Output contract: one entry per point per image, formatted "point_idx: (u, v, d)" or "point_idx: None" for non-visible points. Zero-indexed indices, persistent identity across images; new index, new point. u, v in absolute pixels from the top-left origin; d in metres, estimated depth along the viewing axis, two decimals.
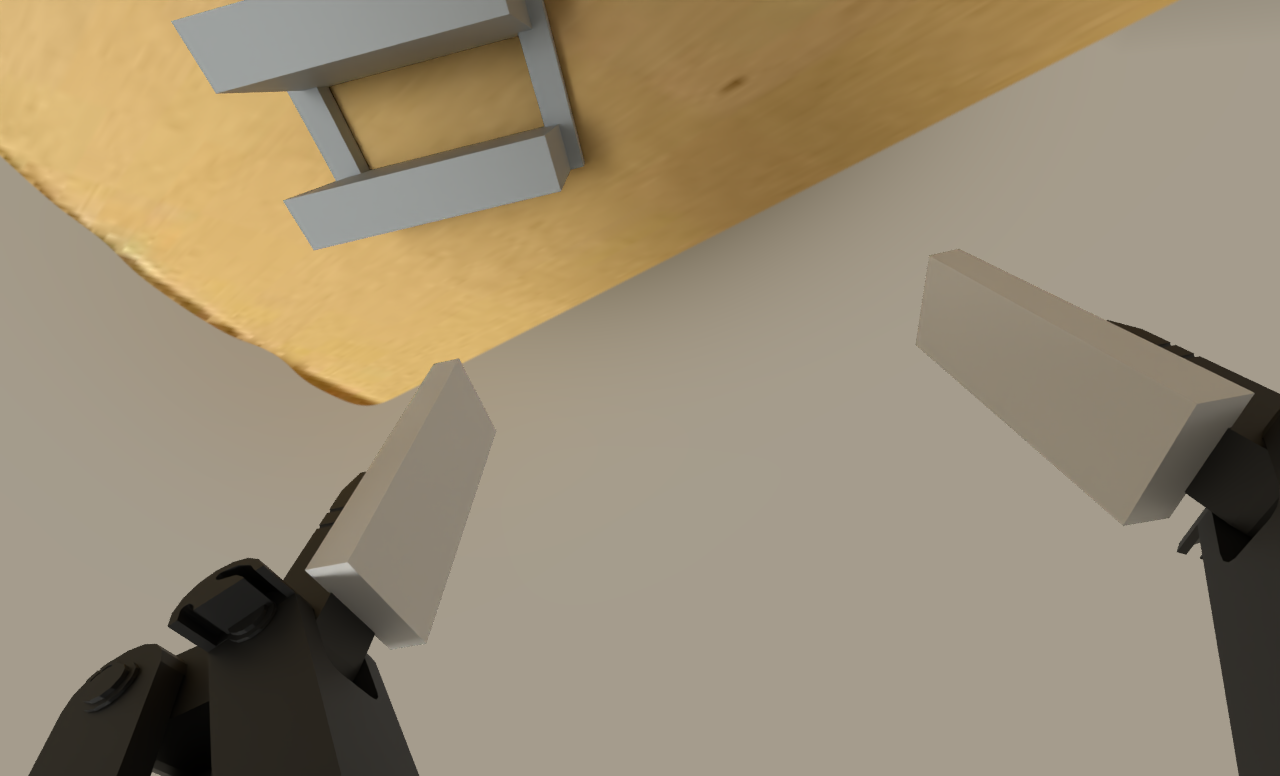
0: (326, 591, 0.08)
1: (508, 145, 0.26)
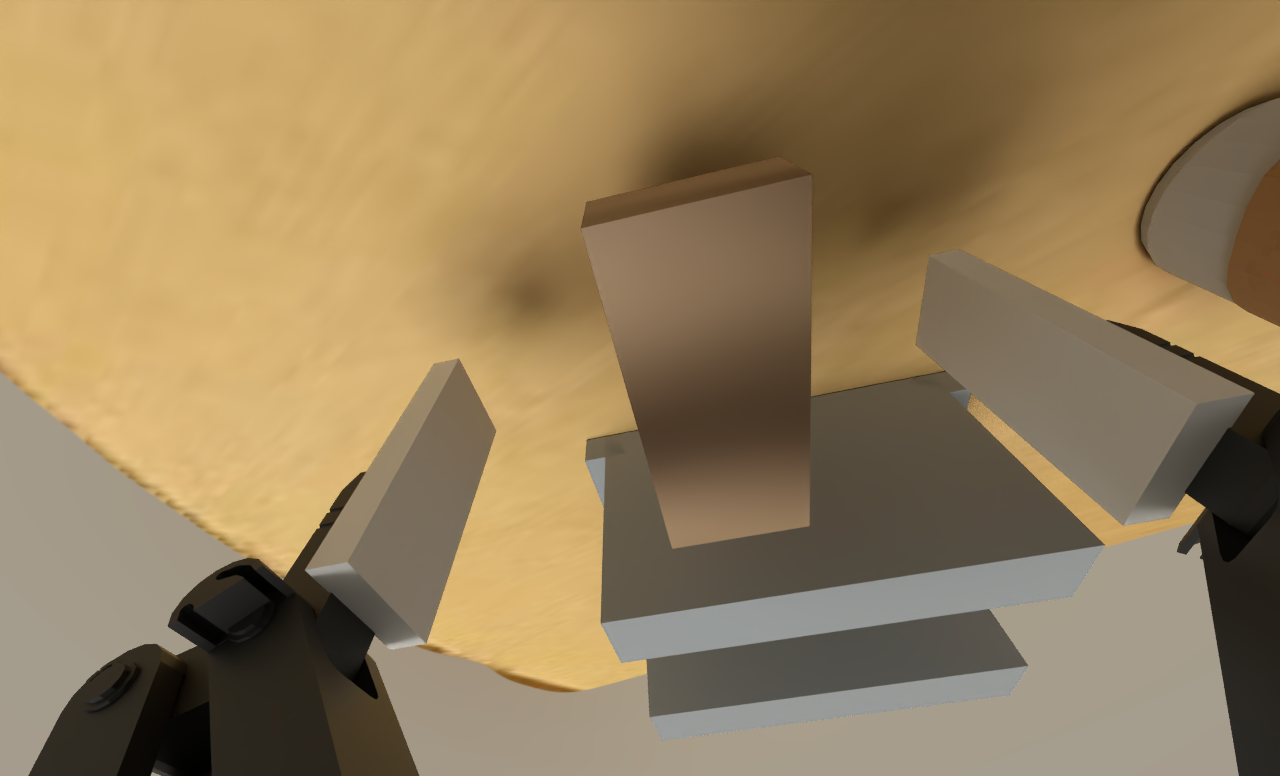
0: (326, 591, 0.08)
1: (973, 673, 0.19)
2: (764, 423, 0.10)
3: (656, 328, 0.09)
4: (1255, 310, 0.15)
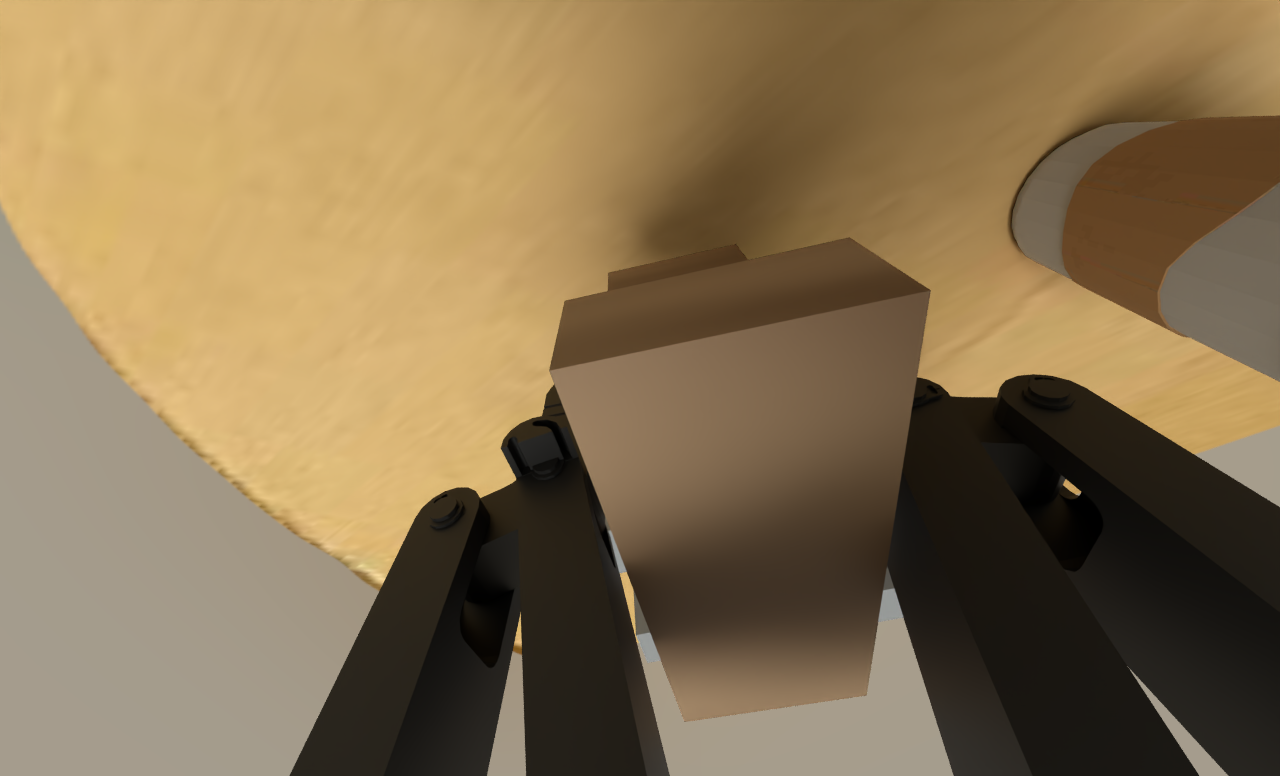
0: None
1: None
2: (818, 596, 0.07)
3: (668, 494, 0.06)
4: (1085, 285, 0.20)
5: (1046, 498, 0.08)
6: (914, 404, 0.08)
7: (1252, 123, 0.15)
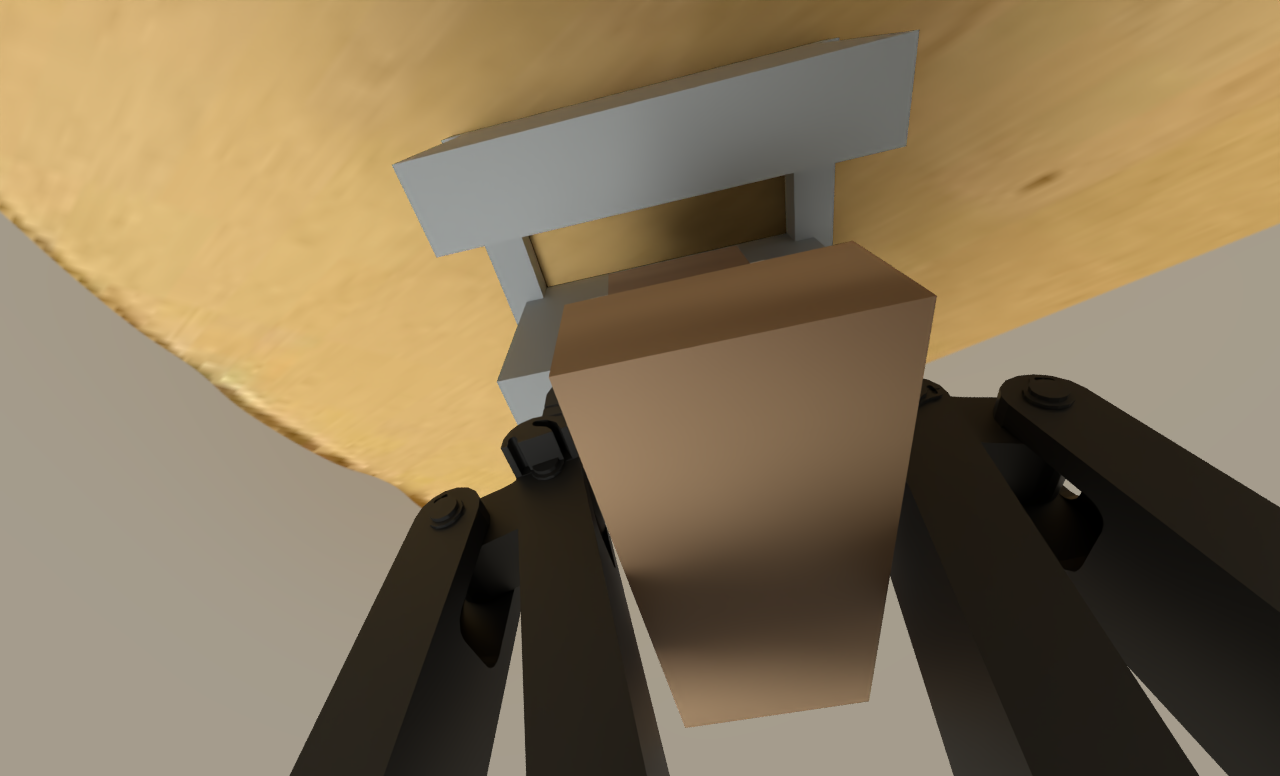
0: None
1: None
2: (820, 603, 0.07)
3: (670, 501, 0.06)
4: None
5: (1046, 498, 0.08)
6: None
7: None
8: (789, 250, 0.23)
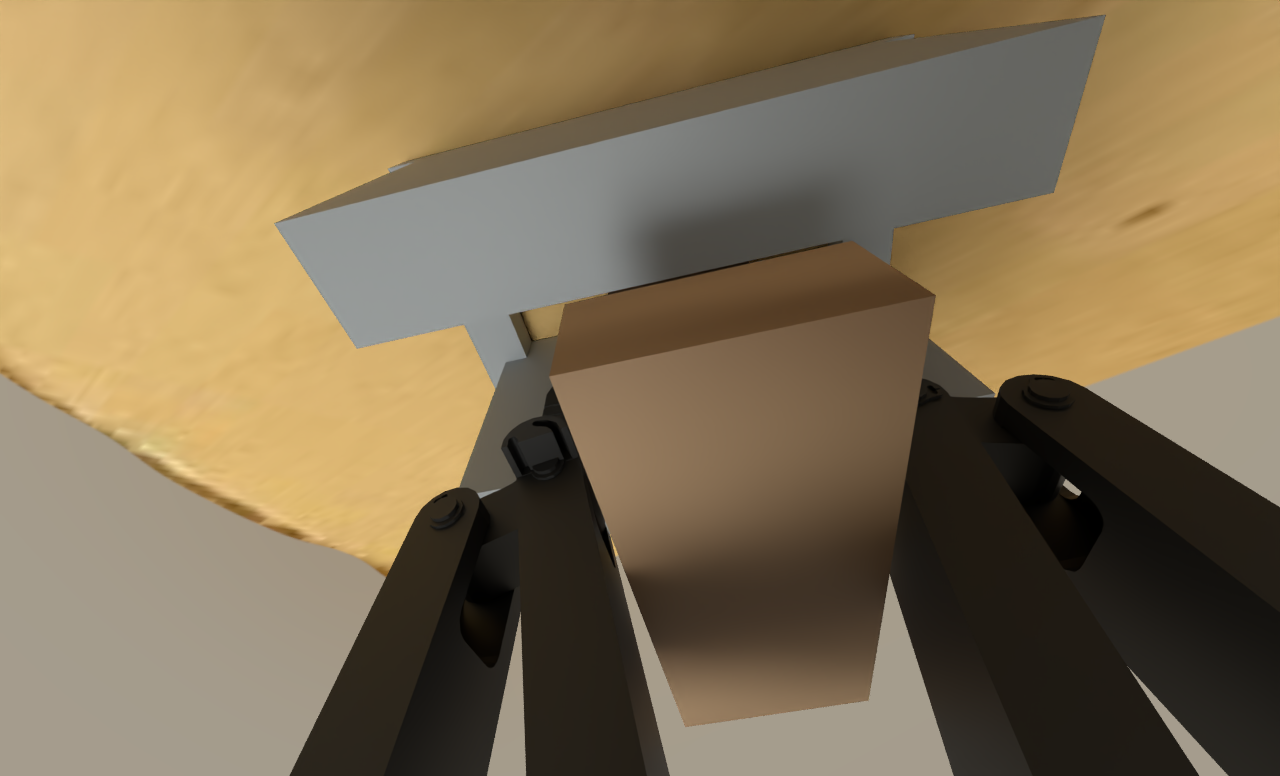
0: None
1: None
2: (820, 602, 0.07)
3: (669, 500, 0.06)
4: None
5: (1046, 498, 0.08)
6: None
7: None
8: None
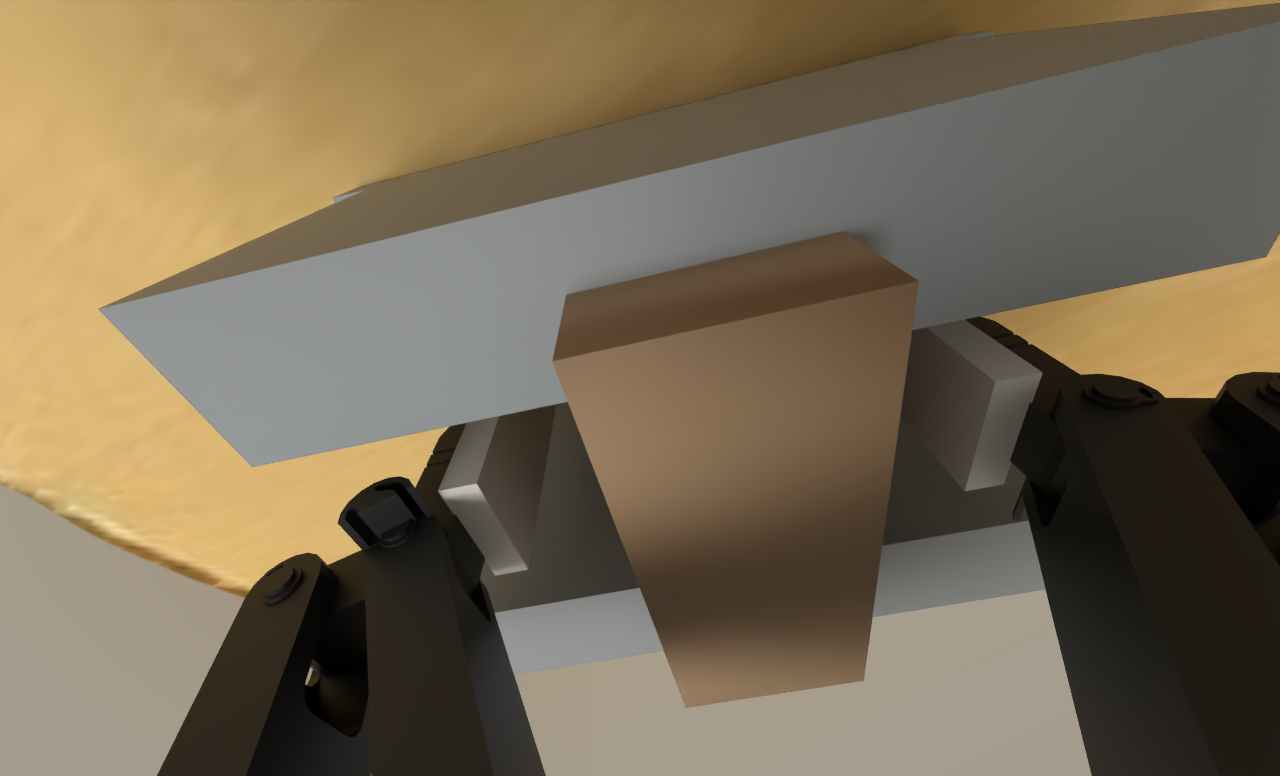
0: (451, 513, 0.09)
1: (1014, 523, 0.10)
2: (814, 583, 0.07)
3: (668, 482, 0.06)
4: None
5: (1261, 514, 0.07)
6: (1118, 405, 0.07)
7: None
8: None
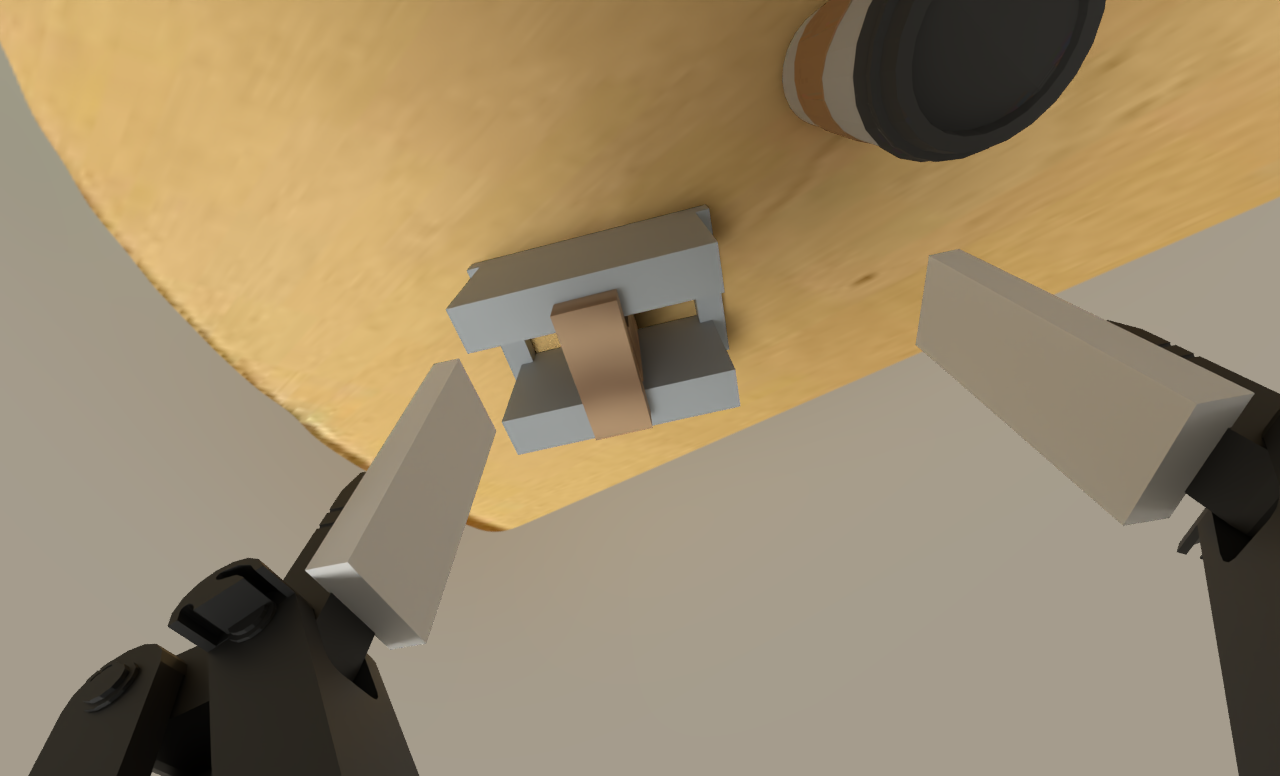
0: (326, 591, 0.08)
1: (702, 377, 0.30)
2: (621, 380, 0.27)
3: (577, 346, 0.26)
4: (817, 123, 0.27)
5: None
6: None
7: None
8: (694, 330, 0.35)
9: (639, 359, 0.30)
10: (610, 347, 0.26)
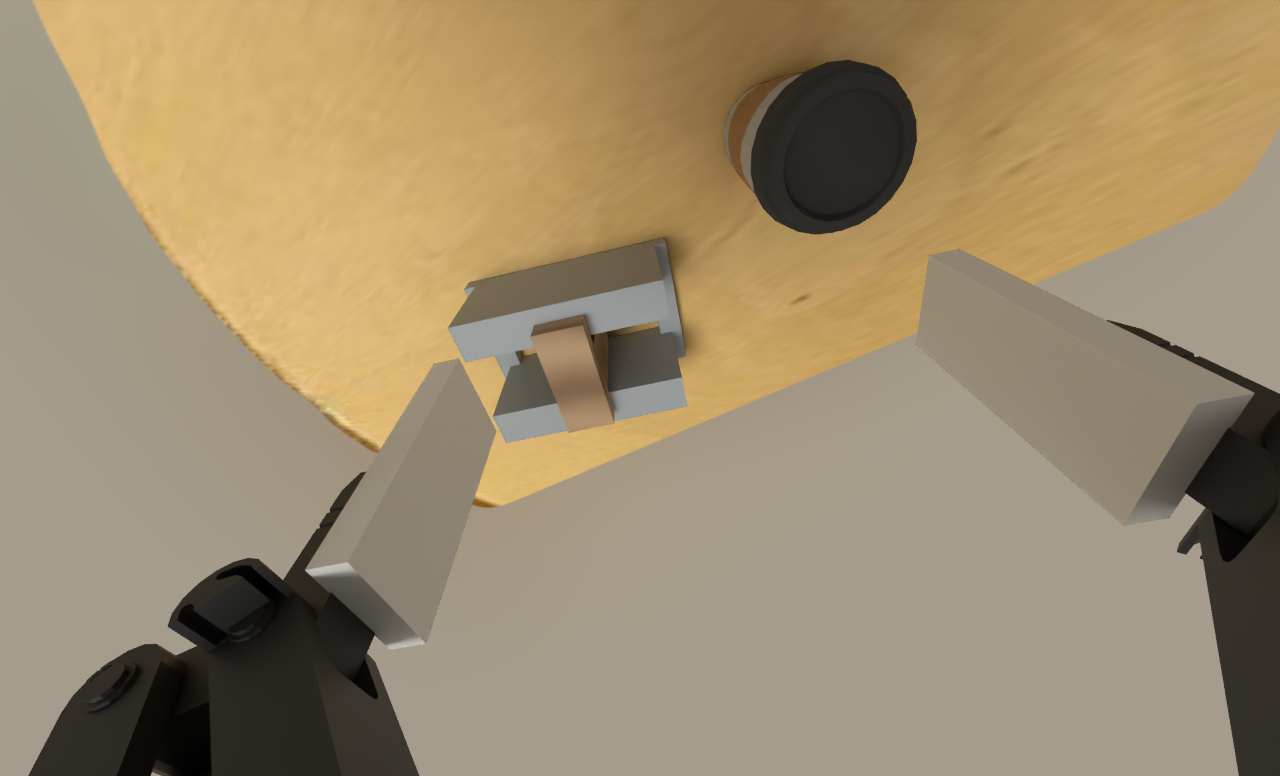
0: (326, 591, 0.08)
1: (655, 383, 0.37)
2: (588, 386, 0.34)
3: (551, 359, 0.33)
4: None
5: None
6: None
7: (779, 78, 0.28)
8: (655, 340, 0.42)
9: (605, 367, 0.37)
10: (578, 360, 0.33)
